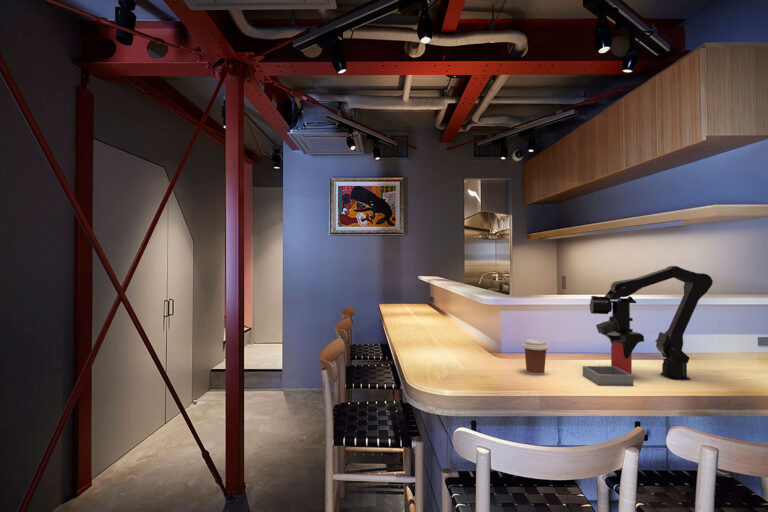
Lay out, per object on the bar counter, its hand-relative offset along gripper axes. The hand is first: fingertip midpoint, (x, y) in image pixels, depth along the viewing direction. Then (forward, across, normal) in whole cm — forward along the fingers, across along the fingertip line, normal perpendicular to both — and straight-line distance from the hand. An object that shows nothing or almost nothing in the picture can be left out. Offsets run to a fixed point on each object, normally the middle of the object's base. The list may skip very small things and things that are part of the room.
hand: (621, 356), depth 149 cm
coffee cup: (+7, 0, -32) cm, 33 cm away
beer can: (+7, 0, 0) cm, 7 cm away
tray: (+6, +9, -10) cm, 15 cm away
